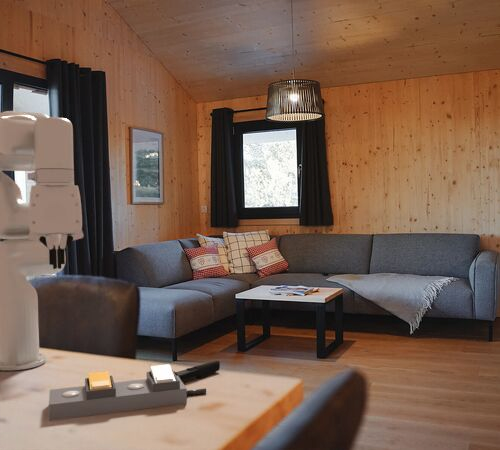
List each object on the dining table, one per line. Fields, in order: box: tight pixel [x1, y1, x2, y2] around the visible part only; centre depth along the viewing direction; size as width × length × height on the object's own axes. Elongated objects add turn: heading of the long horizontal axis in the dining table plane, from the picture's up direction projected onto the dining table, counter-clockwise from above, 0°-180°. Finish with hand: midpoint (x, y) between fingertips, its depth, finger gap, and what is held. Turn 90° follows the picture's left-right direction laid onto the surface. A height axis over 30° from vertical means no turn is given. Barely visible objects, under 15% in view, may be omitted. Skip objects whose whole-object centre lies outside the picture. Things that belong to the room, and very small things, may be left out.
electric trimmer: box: [173, 360, 221, 383], centre depth 129 cm, size 4×16×3 cm, turn 135°
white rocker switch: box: [149, 363, 176, 383], centre depth 116 cm, size 7×4×1 cm, turn 18°
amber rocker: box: [88, 370, 112, 390], centre depth 112 cm, size 7×4×1 cm, turn 18°
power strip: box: [48, 368, 207, 421], centre depth 114 cm, size 9×31×5 cm, turn 108°
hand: (57, 267), depth 116 cm, fingers closed
